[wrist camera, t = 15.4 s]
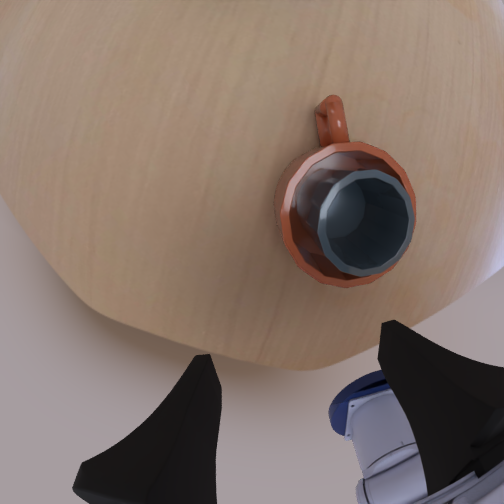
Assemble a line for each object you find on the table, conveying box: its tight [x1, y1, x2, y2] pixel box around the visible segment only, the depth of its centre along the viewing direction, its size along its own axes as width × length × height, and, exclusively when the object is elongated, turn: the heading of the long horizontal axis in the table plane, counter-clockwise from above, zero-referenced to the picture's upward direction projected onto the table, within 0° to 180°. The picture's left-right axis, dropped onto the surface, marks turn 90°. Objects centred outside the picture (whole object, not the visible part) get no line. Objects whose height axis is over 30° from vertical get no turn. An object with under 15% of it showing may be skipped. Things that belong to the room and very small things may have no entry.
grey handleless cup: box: [297, 167, 415, 277], centre depth 15 cm, size 5×5×6 cm
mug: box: [274, 95, 416, 288], centre depth 16 cm, size 11×8×5 cm
